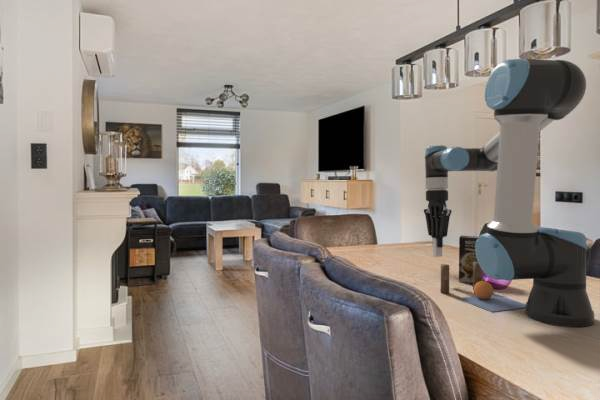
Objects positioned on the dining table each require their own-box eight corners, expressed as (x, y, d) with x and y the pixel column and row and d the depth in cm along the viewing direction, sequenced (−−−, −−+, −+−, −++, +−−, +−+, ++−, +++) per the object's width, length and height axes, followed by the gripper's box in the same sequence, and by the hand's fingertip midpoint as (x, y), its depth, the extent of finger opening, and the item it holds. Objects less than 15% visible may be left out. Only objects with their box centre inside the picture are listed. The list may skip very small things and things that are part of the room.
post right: (483, 290, 134) (483, 262, 133) (476, 290, 133) (476, 263, 132) (477, 288, 136) (477, 261, 136) (471, 288, 135) (471, 262, 135)
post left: (451, 293, 130) (451, 265, 129) (444, 294, 129) (444, 266, 129) (445, 291, 132) (445, 264, 132) (439, 292, 132) (439, 264, 131)
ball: (481, 283, 127) (488, 300, 125) (467, 284, 126) (473, 302, 123) (493, 277, 123) (500, 295, 120) (478, 279, 121) (485, 297, 119)
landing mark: (532, 307, 115) (532, 306, 115) (491, 312, 110) (491, 311, 110) (494, 294, 128) (494, 294, 128) (457, 298, 124) (457, 298, 124)
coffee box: (458, 281, 145) (458, 237, 145) (460, 278, 151) (460, 235, 150) (486, 284, 141) (486, 238, 140) (487, 280, 147) (487, 236, 146)
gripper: (457, 189, 139) (458, 258, 139) (434, 190, 151) (435, 253, 151) (439, 189, 136) (440, 259, 137) (417, 190, 149) (418, 254, 149)
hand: (437, 256), depth 144 cm, fingers closed
